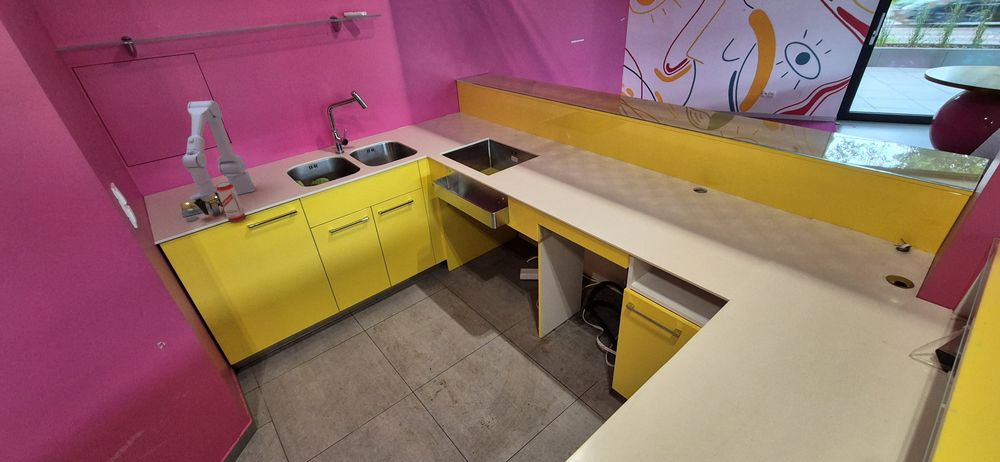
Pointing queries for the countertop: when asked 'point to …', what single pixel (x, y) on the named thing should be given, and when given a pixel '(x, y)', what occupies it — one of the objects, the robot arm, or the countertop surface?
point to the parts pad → (192, 219)
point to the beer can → (230, 201)
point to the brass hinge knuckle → (191, 208)
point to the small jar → (213, 206)
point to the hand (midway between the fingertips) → (215, 210)
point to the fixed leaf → (209, 198)
